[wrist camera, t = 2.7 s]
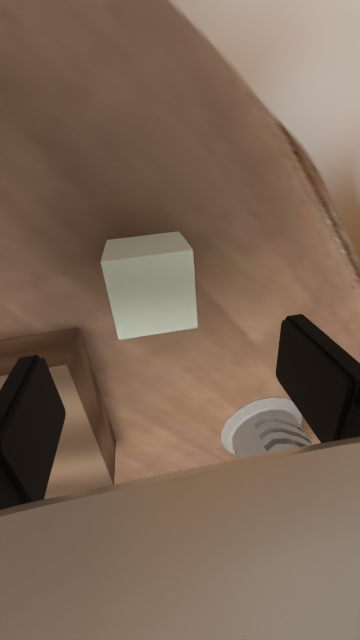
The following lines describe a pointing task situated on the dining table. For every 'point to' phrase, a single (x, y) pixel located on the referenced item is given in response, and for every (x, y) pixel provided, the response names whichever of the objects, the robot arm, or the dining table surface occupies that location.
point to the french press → (264, 428)
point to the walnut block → (70, 410)
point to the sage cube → (150, 284)
